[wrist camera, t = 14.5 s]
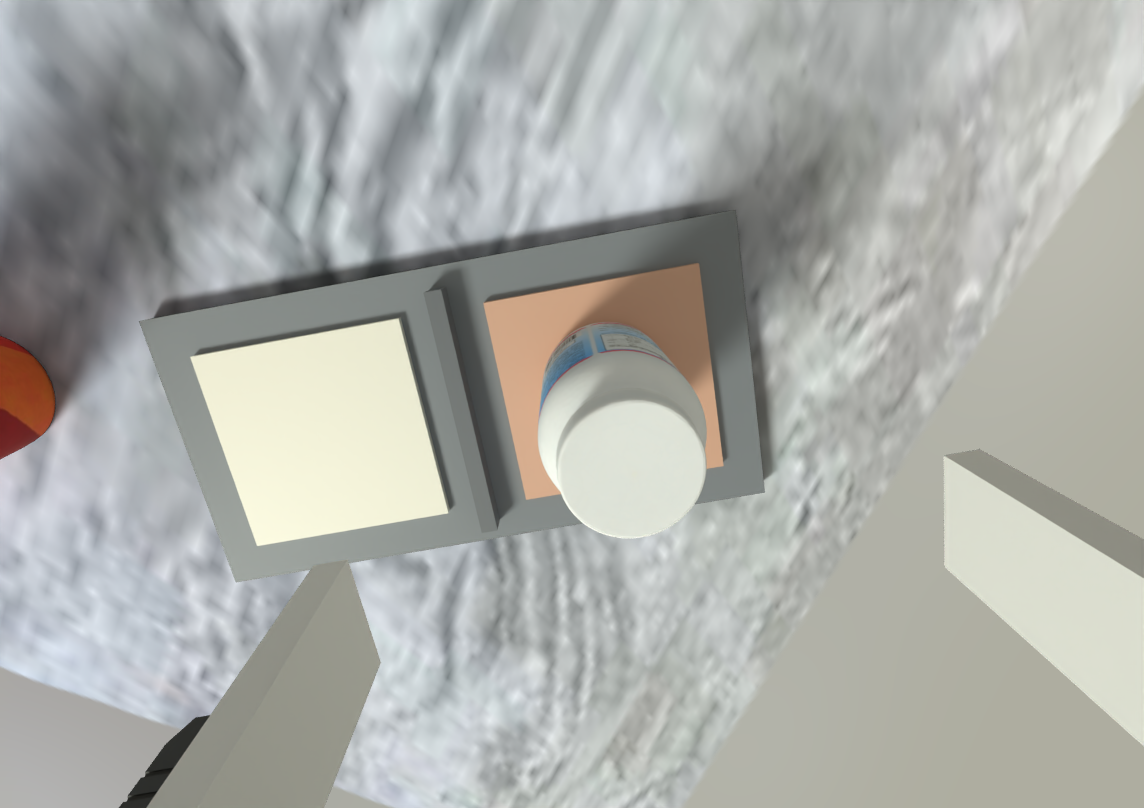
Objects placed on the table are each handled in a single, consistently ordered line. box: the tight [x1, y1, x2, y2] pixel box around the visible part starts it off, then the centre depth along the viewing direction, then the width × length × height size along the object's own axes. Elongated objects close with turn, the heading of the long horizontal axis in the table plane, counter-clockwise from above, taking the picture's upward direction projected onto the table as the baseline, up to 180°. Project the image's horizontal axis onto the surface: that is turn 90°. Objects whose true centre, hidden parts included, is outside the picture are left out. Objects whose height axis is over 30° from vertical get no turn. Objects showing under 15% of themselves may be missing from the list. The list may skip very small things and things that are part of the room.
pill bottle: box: [538, 322, 707, 538], centre depth 24 cm, size 6×6×11 cm
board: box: [139, 210, 765, 582], centre depth 30 cm, size 14×28×2 cm, turn 100°
